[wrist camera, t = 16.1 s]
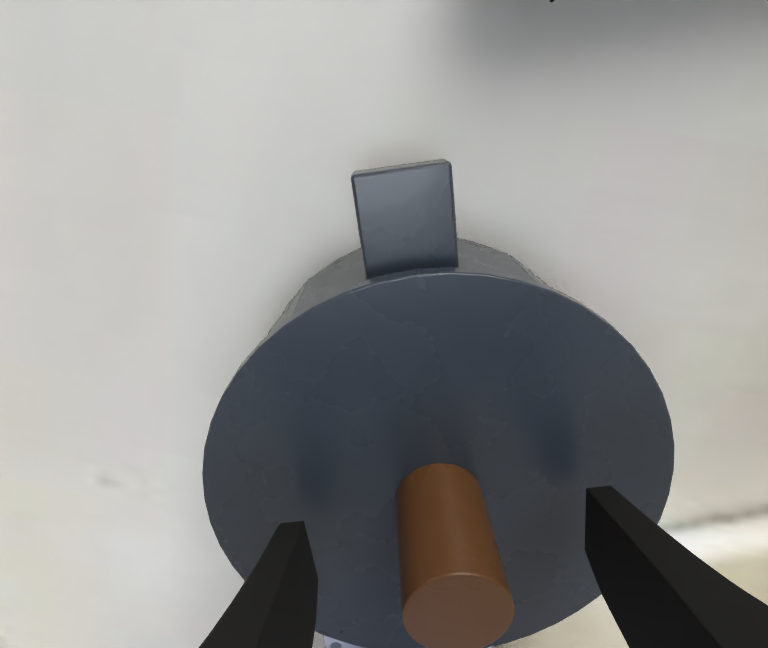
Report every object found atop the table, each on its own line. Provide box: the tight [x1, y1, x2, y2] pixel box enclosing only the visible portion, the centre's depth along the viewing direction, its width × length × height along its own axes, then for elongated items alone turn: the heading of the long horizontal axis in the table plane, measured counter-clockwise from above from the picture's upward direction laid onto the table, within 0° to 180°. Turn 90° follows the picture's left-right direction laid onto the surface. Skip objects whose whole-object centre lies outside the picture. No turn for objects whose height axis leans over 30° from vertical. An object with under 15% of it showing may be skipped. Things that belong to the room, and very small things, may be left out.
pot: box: [267, 159, 548, 336], centre depth 17 cm, size 12×18×6 cm
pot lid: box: [202, 267, 674, 648], centre depth 13 cm, size 13×13×5 cm
